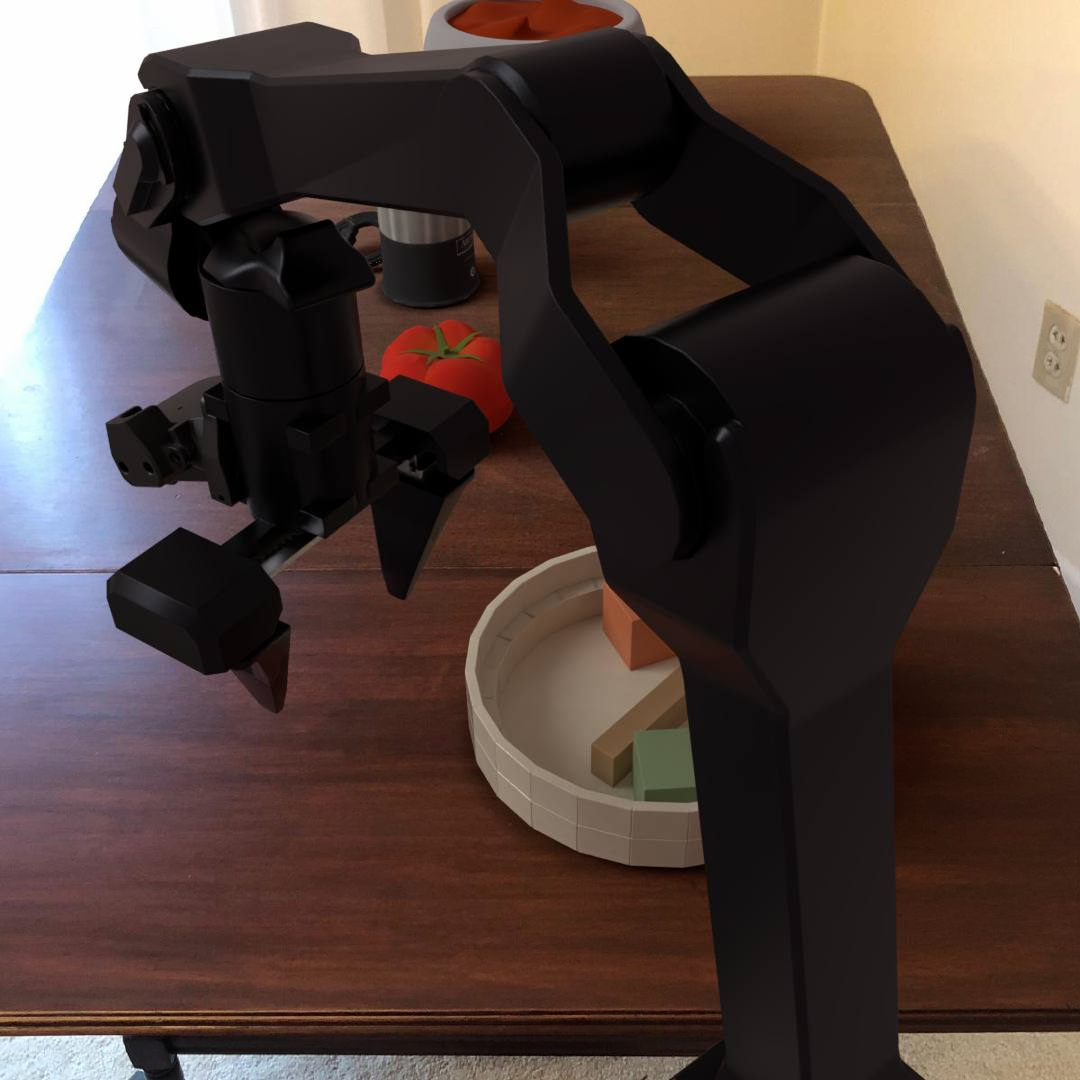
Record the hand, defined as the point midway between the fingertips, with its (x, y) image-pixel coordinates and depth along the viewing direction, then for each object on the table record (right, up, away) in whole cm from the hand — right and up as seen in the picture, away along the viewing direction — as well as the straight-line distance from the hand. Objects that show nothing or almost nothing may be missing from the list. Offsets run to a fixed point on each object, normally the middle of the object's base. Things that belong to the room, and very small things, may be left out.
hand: (338, 649), depth 58 cm
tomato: (+3, +14, +38) cm, 40 cm away
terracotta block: (+16, -1, +17) cm, 23 cm away
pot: (+9, +46, +78) cm, 91 cm away
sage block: (+17, -9, +7) cm, 20 cm away
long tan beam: (+17, -5, +12) cm, 21 cm away
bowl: (+16, -5, +12) cm, 21 cm away
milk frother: (-4, +30, +58) cm, 66 cm away
